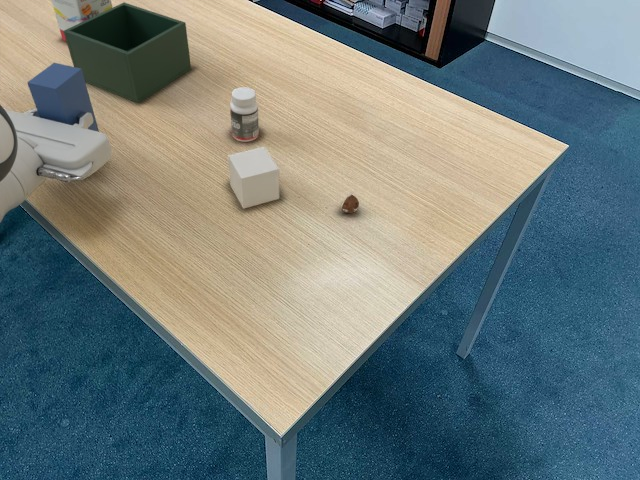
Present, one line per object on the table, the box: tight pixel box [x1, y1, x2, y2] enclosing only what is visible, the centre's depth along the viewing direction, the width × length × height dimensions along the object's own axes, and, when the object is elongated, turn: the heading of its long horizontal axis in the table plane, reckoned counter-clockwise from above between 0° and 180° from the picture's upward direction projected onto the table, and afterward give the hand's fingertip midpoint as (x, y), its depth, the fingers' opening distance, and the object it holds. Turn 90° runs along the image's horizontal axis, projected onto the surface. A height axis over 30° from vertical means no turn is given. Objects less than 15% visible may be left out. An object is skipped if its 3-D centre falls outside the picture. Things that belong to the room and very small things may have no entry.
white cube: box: [227, 146, 280, 210], centre depth 84 cm, size 6×6×6 cm
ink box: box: [51, 0, 113, 42], centre depth 114 cm, size 9×9×12 cm
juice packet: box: [26, 62, 100, 132], centre depth 81 cm, size 4×6×15 cm
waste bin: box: [63, 2, 192, 104], centre depth 106 cm, size 16×16×10 cm
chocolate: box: [340, 189, 360, 214], centre depth 83 cm, size 3×2×4 cm
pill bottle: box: [229, 86, 260, 143], centre depth 94 cm, size 5×5×8 cm
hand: (70, 111), depth 81 cm, fingers closed on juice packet, 4 cm apart
